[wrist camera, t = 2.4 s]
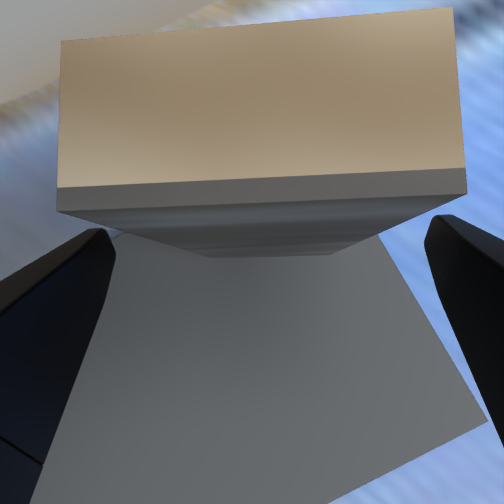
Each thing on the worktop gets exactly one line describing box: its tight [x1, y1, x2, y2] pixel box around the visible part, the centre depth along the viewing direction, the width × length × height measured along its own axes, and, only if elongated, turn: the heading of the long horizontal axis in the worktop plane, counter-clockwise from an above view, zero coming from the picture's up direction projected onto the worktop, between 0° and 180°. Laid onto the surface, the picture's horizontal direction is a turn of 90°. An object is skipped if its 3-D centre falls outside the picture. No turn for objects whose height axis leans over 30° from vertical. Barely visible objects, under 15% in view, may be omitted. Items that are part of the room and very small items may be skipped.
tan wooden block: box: [57, 7, 467, 259], centre depth 12 cm, size 3×6×13 cm, turn 91°
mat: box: [30, 232, 488, 504], centre depth 18 cm, size 18×27×1 cm, turn 118°
